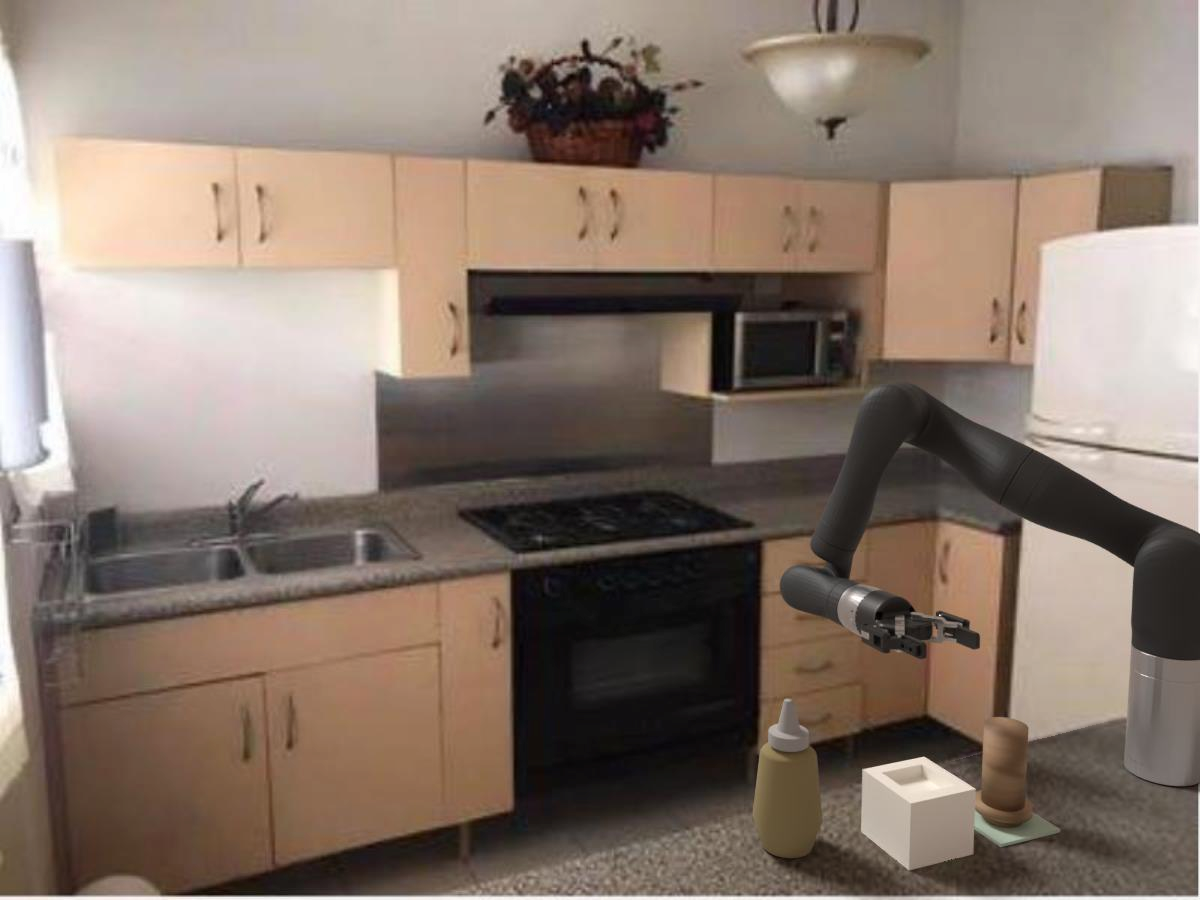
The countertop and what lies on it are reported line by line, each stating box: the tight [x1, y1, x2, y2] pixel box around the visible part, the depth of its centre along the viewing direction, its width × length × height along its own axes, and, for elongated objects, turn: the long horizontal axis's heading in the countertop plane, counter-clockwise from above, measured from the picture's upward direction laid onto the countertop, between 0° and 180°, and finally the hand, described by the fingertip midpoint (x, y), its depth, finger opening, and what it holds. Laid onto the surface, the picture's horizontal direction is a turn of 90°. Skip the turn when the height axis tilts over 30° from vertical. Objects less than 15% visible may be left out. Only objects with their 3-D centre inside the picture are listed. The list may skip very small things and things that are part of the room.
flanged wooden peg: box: [975, 716, 1034, 828], centre depth 120 cm, size 7×7×12 cm
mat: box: [974, 810, 1061, 848], centre depth 121 cm, size 9×9×1 cm
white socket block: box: [860, 756, 977, 871], centre depth 116 cm, size 9×9×8 cm
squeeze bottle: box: [752, 698, 823, 859], centre depth 115 cm, size 8×8×18 cm
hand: (951, 646), depth 128 cm, fingers open, 8 cm apart
